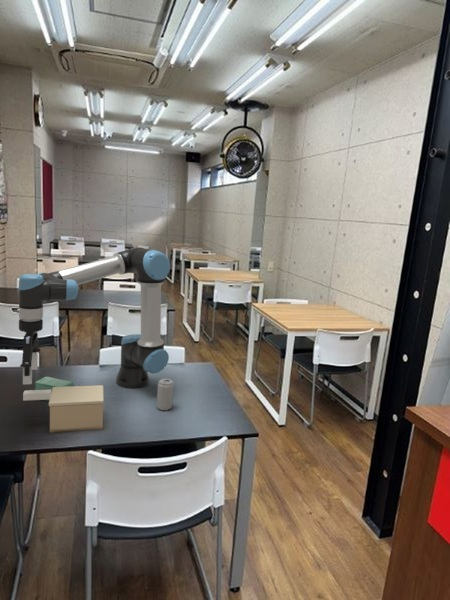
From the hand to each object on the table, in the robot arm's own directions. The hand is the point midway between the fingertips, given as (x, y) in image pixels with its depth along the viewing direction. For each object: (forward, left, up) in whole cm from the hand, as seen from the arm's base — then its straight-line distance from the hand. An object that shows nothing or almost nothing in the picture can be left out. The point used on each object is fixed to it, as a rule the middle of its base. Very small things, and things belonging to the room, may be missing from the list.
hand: (30, 376), depth 144 cm
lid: (-11, 0, -9) cm, 14 cm away
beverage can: (-50, -7, -19) cm, 54 cm away
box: (-6, -22, -19) cm, 29 cm away
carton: (-16, 0, -19) cm, 25 cm away
